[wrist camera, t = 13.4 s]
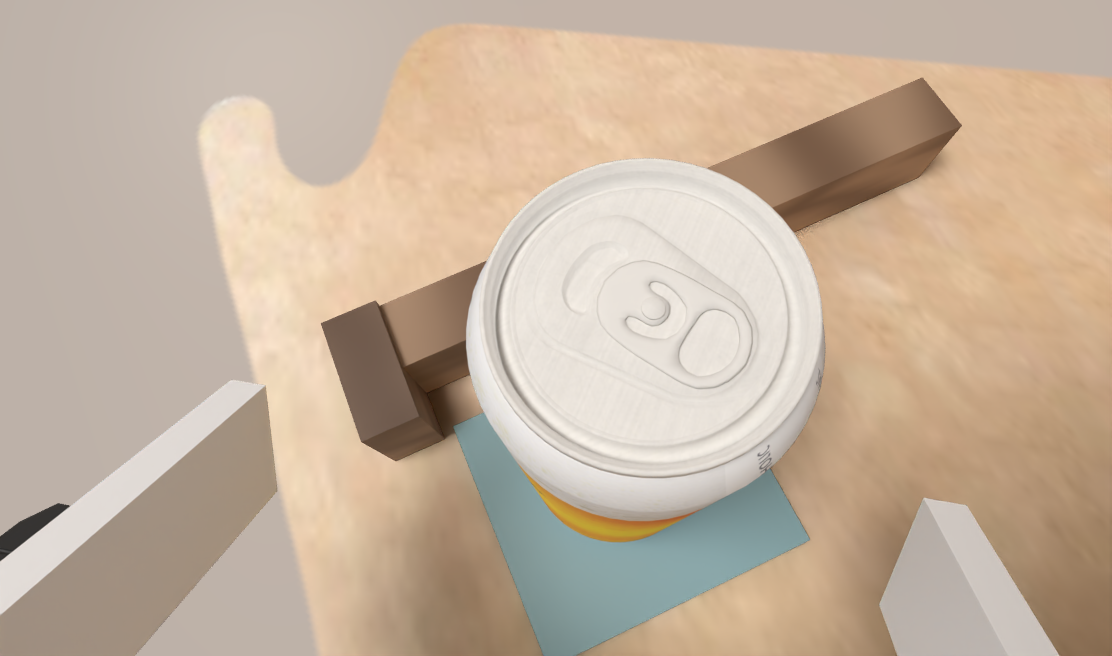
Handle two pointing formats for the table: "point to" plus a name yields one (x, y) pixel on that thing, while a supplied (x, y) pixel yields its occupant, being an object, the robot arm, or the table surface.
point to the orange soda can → (645, 343)
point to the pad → (617, 550)
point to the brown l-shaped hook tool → (768, 170)
